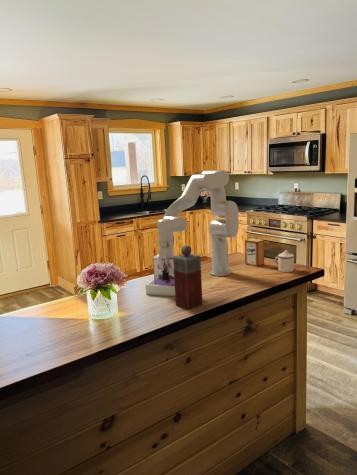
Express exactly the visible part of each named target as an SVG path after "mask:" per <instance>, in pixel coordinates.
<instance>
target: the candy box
mask: <svg viewBox="0 0 357 475" xmlns="http://www.w3.org/2000/svg"><path fill="white" fill-rule="evenodd" d="M174 256H175V255H174ZM174 256H171V257H170V258H169V267H168V272H169V280H163V277H162V270H161V267H160V266H159V253H158V254H156V255H154V256H152V264H153V279H154V281H155V285H167V286H175V282H174V265H173V257H174ZM164 266H167V265H164ZM165 269H166V268H165Z"/></svg>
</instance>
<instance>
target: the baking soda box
mask: <svg viewBox="0 0 357 475" xmlns="http://www.w3.org/2000/svg"><path fill="white" fill-rule="evenodd" d="M244 255H245V256H244V257H245V259H244V260H245V262H244V264H246V265H247V266H250V265H251V267H256V268H259V267H262V266H265V240H264V239H259V238H253V237H252V238H248V239H245V240H244Z"/></svg>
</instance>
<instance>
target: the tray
mask: <svg viewBox="0 0 357 475" xmlns="http://www.w3.org/2000/svg"><path fill="white" fill-rule="evenodd" d="M145 295H152V296H153V295H154V296H165V297H175V286H167V285H155V281H154V278H152V279H151V280H150V281H149V282H147V283H146V284H145Z"/></svg>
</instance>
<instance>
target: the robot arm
mask: <svg viewBox="0 0 357 475" xmlns="http://www.w3.org/2000/svg"><path fill="white" fill-rule="evenodd" d="M229 180H230V175H229V172H228V171H227V170H224V169H209V170H208V169H206V170H203V171H202V172H201V173H195V174H192V175H191V176H190V177H189V179H188V182H187V183H186V185H185V187H184V190H183V192H182V193H181V195H180V197H178V198H177V199H176V200H175V201H173V203H171V204H170V205H169V207H167V209H166V211H165V212H164V215H163V217H162V218H161V219H158V220H157V221H156V224H157V225H156V226H157V238H158V239H157V240H158V254H159V266H160V267H161V270H162V277H163V280H169V272H168V267H169V258H170V257H171V256H175V254H174V244H175V242H174V233H178V232H179V233H180V232H181V233H182V232H184V231H185V230H186V229H187V228H188V220H187V219H186V218H184V217H182V216H178V215H179V214H180V213H181V212H183V211H184V210H187V209H189V208H191V207H193V206H195V205H196V203H197V201H198V199H199V197H200V195H201V193H202V191H209V195H210V211H211V212H210V213H211V215H212V216H213V217H215V219H213V220H211V221H210V223H209V224H208V230H209V235H210V236H209V237H210V243H211V249H210V250H211V270H209V275H212V276H215V277H224V276H229V275H231V274H232V270H231V269H230V268H229V267H230V266H229V243H228V240H227V238H232V239H233V238H235V237H236V236H237V235H238V233H239V208H238V207H239V206H238V205H237V203H236V202H234V201H232V200H227V194H226V190H225V186H226V185H227V184H228V182H229ZM218 218H219V219H218ZM220 218H223V219H220ZM224 218H225V219H224ZM164 265H167V266H164ZM165 268H166V269H165Z"/></svg>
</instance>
